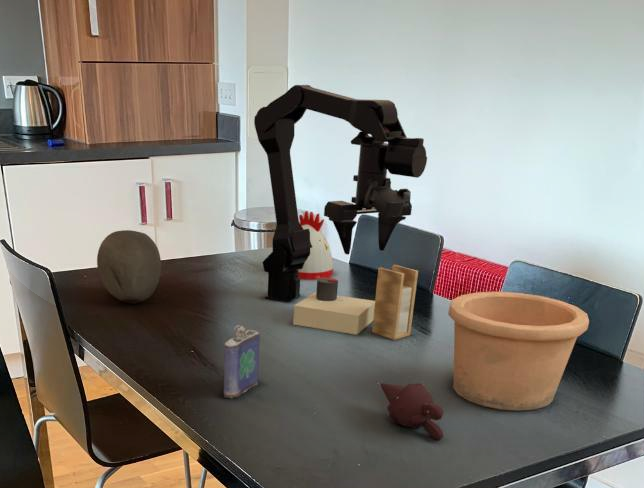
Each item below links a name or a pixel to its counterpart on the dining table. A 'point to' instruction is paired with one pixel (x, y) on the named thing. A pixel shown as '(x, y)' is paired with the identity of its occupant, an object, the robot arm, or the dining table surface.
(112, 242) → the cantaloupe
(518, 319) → the pottery
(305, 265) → the kitchen timer
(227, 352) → the flask
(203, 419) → the dining table surface
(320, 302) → the wooden block
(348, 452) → the dining table surface
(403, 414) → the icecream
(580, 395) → the dining table surface
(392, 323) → the napkin holder
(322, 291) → the dial
